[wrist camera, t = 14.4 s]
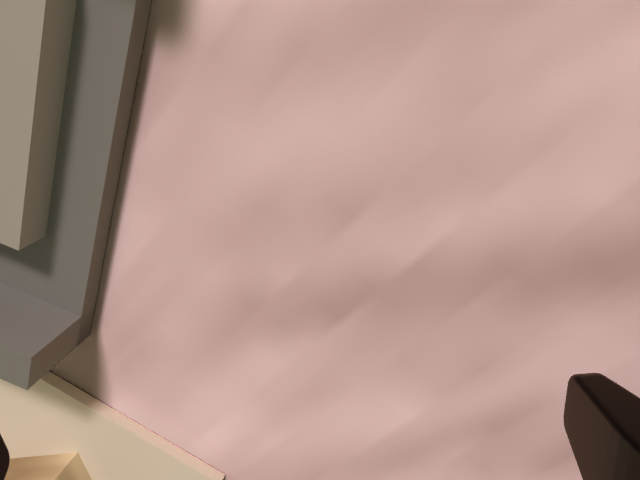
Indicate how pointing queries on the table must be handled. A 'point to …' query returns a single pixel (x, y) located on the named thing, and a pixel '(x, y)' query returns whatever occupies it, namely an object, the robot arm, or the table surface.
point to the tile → (90, 434)
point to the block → (48, 468)
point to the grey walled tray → (59, 167)
